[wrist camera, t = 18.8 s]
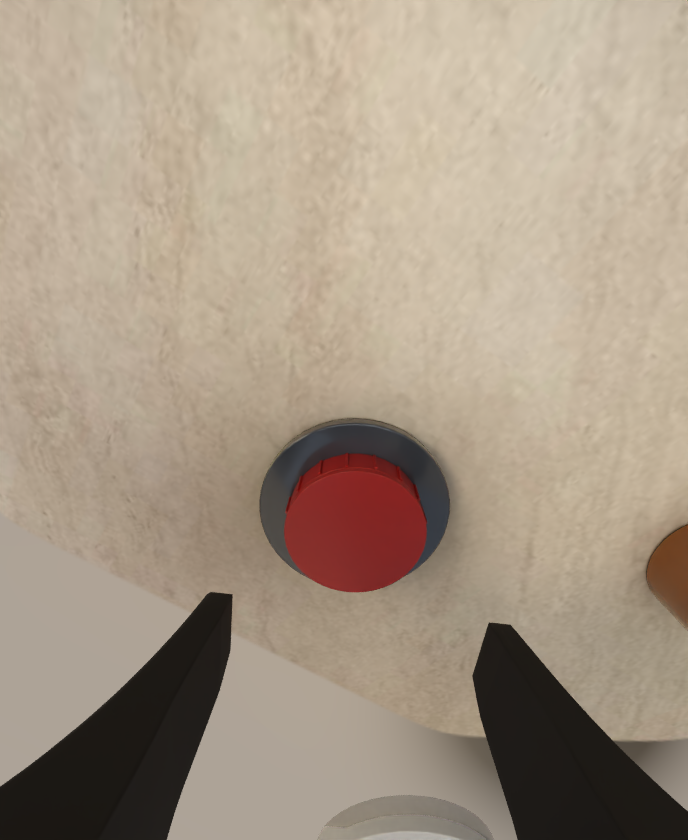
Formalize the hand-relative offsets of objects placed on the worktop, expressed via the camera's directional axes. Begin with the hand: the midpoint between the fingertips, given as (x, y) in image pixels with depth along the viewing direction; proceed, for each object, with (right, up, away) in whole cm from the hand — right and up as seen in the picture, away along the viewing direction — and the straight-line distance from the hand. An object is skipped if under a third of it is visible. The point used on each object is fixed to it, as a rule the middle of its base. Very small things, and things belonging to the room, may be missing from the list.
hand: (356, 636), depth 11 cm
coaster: (0, +2, +6) cm, 7 cm away
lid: (0, +2, +4) cm, 5 cm away
